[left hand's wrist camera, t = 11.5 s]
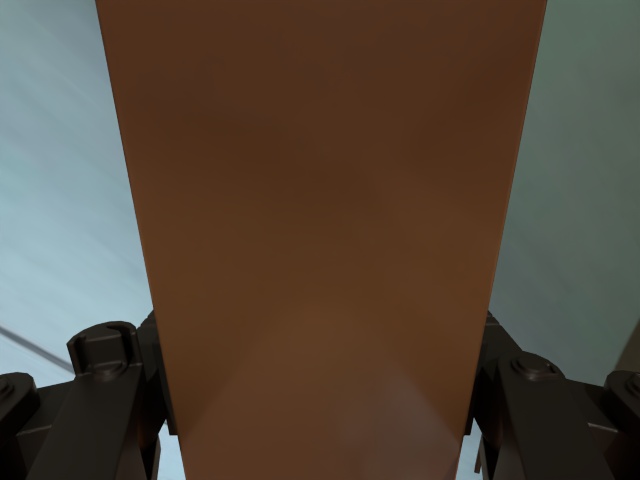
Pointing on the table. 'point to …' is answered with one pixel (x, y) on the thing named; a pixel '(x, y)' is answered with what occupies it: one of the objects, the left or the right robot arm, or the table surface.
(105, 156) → the table surface
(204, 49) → the bar
